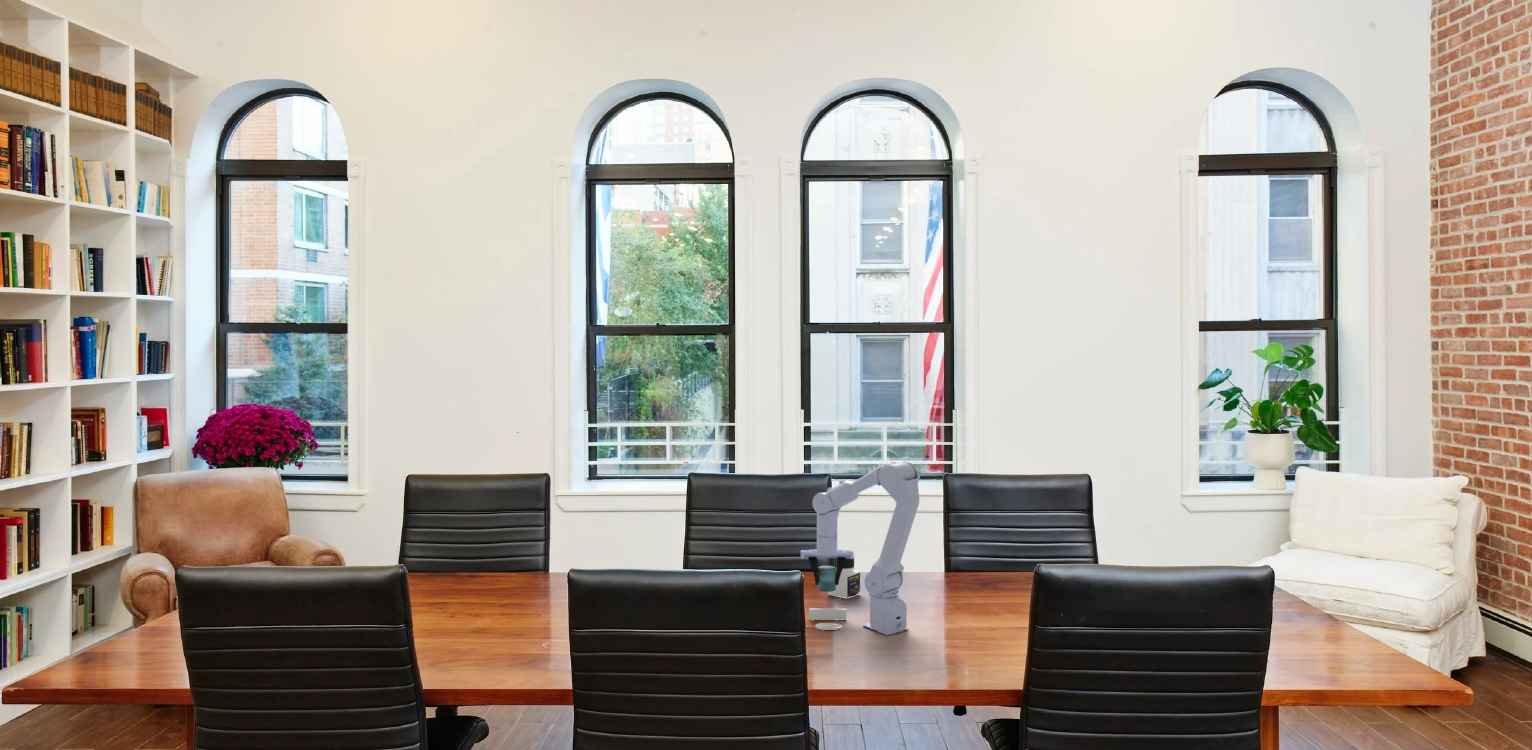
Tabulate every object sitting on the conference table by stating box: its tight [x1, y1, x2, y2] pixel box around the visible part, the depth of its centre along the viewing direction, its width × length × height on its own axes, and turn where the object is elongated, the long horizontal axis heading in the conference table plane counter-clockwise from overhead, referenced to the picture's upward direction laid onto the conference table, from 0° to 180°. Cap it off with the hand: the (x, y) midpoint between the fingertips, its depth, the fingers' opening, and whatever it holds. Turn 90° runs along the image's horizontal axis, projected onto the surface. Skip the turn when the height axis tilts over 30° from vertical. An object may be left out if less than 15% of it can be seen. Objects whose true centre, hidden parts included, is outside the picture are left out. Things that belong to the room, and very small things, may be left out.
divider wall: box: [808, 607, 847, 621], centre depth 246 cm, size 10×1×3 cm, turn 89°
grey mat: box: [815, 622, 843, 631], centre depth 240 cm, size 7×7×1 cm
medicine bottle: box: [827, 556, 861, 598], centre depth 270 cm, size 7×7×12 cm
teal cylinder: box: [817, 565, 836, 593], centre depth 252 cm, size 5×5×6 cm
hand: (826, 584), depth 252 cm, fingers closed on teal cylinder, 5 cm apart
